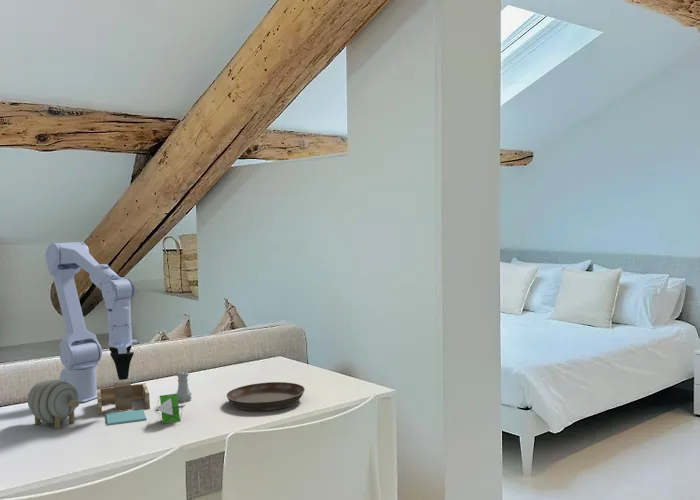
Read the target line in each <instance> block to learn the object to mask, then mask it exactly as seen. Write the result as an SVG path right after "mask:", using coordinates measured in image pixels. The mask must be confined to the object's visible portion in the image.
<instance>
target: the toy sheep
mask: <svg viewBox="0 0 700 500" xmlns="http://www.w3.org/2000/svg"><path fill="white" fill-rule="evenodd" d="M26 395H27V396H28V397H27V405H28V408H29V410H30V411H31V413H32V415H33V416H34V423H35V425H37V426H38V425H40V424H41V423H46V424H54V428H55V429H60V428H61V422H63V421H65V420H66V419H67V418H68V423H70V424H74V423H75V422H76V421H75V420H76V419H75V410H76V409H77V408H78V407H79V406H80V402H78V393H77V390H76V389H75V388H74V387H73V386H72V385H71V384H69V383H68V382H66V381H63V380H61V379H60V378H52V379H51V378H49V379H46V380H42V381H39V382H37V383H35V384H34V385H33V386H32V388H31V389H30V391H29V393H28V394H26Z"/></svg>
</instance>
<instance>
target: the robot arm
mask: <svg viewBox="0 0 700 500" xmlns="http://www.w3.org/2000/svg"><path fill="white" fill-rule="evenodd" d="M44 255H45V256H44V257H45V262H46V265H47V269H48V273H49V275H51V276H52V278H53V282H54V287H55V290H56V294H57V299H58V302H59V307H60V310H61V315H62V319H63V323H64V328H65V331H66V335H65V336H64V337H63V339H62V340H61V341H60V343H59V358H60V362H61V364H62V366H63V368H62V370H61V372H60V375H59V379H61V380H63V381H66V382H68V383H69V384H71V385H72V386H73V387H74V388H75V389H76V390H77V393H78V402H79V403H85V402H90V401H91V400H94V399H95V400H96V399H97V389H98V387H97V366H99V362H100V360H101V359H102V356H103V349H102V348H103V347H102V346H101V344H100V342H99V341H98V338H97V335H96V334H94V333H93V332H90V331H89V330H88V329H87V327H86V326H87V325H86V323H85V319H84V314H83V310H82V306H81V303H80V298H79V295H78V289H77V286H76V281H75V275H76V274H77V273H80V271H81V270H84V272H86V273H88V274H89V280H90V281H91V282H92V283H93V284H94V286H96V287H97V288H99V290H100V291H101V296H102V299H103V300H104V307H105V308H106V309H107V322H108V323H107V325H108V343H107V344H108V346H109V352H110V353H109V354H110V357H111V359H112V360H113V362H114V366H115V369H116V373H117V377H118V380H119V381H123V380H128V378H129V373H130V366H131V362H132V359H133V357H134V355H135V354H134V352H133V351H131V350H132V345H133V344H137V343H138V340H137V339H133V331H132V314H131V313H132V312H131V311H132V310H131V307H132V306H131V299H133V298H134V295H135V286H134V282H133V281H132V280H131V278H129V277H121V276H119V274H117V273H116V272H115V271H114V270H113V269H112V268H111V267H110V266H109V264H107V263H106V264H104V263H101V264H100V263H99V262H98V261H97V260H96V259H95V258H94V257H93V255H92V254H90V249H89V246H88V245H86V243H85V242H83V241H76V242H75V241H74V242H73V241H72V242H58V243H56V242H50V243H49V244H48V246H47V249H46V251H45V254H44Z"/></svg>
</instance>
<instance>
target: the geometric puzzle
mask: <svg viewBox="0 0 700 500" xmlns="http://www.w3.org/2000/svg"><path fill="white" fill-rule="evenodd" d="M177 395H178V394H176V393H171V394H163V395H159V399H158V401H157V404H156V407H155V410H154V411H155V412H160V413H161V414H156V416H157V417H158V419H159V420H160V422H161V423H162V424H163V425H164V424H169V423H174V422H175V423H177V422H181V420H182V415H183V411H185V410H184V408H185V406H186V404H182V402H178V398H179V397H177ZM178 396H179V395H178ZM180 399H181V398H180ZM180 399H179V400H180ZM159 401H160V402H159ZM159 403H160V405H159ZM179 403H180V404H182V405H179ZM156 408H157V409H156ZM180 410H182V411H181V412H180ZM158 415H159V416H158Z"/></svg>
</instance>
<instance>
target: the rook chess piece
mask: <svg viewBox="0 0 700 500" xmlns="http://www.w3.org/2000/svg"><path fill="white" fill-rule="evenodd" d="M189 375H190V374H189V373H188V370H185V369H183V370H181V369H180V370H178V371H177V374H176V376H177V378H178V379H177V382H178V384H177V385H178V386H177V391H176V393H175V394H178V395H179V396H178V395H177V397H179V398H178V403H180V402H181V403H185V402H184V401H187V402H190V401H192V399H193V397H192V391H191V390H190V388H189V383H188V381H189V378H188V377H189ZM180 398H181V399H180ZM179 399H180V400H179ZM189 400H190V401H189Z"/></svg>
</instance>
